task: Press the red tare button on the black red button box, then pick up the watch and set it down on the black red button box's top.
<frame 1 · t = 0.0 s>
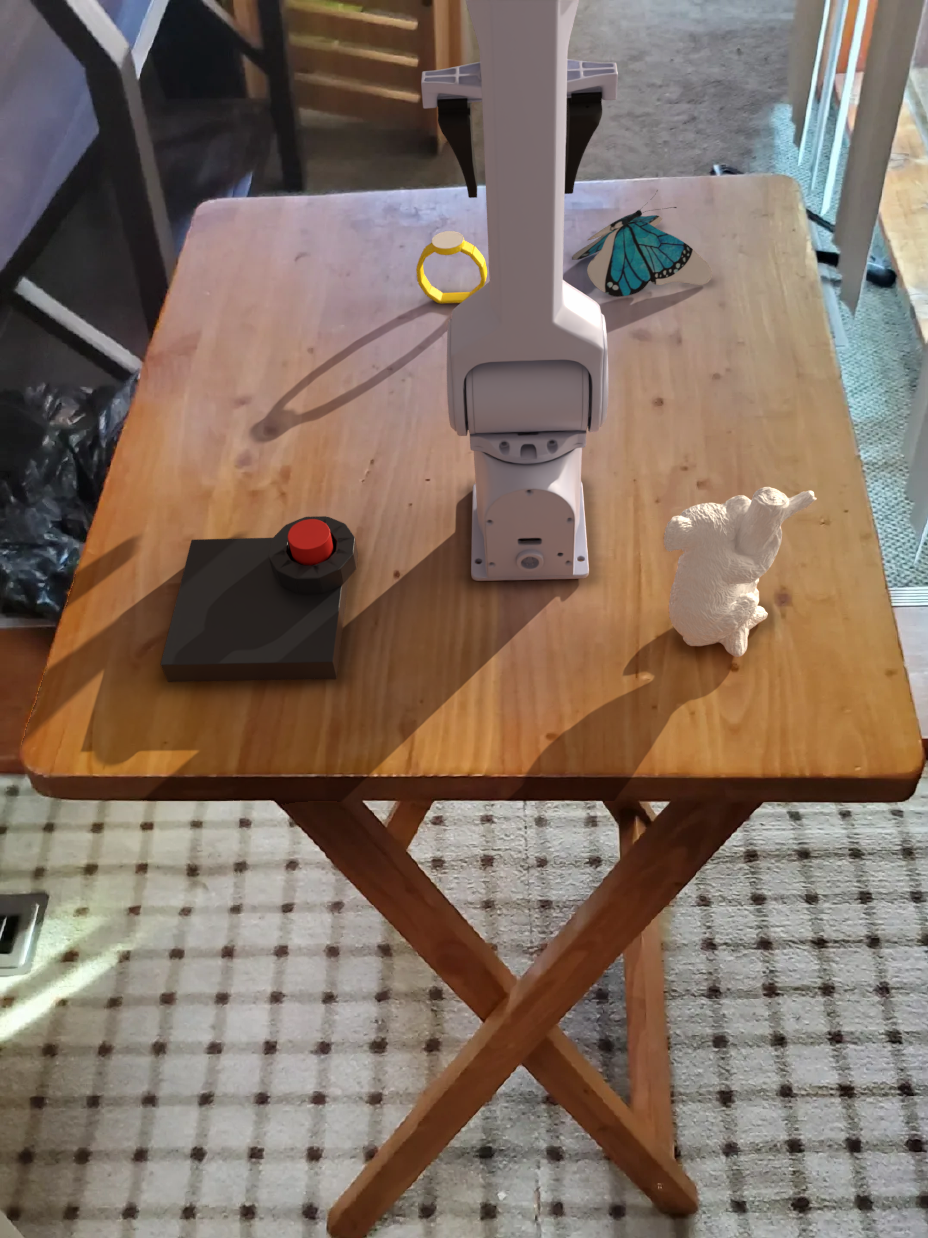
hand: (520, 189, 87), 10 cm above the table, tool pointing down, fingers open, 7 cm apart
tare button: (310, 542, 71), point 4 cm above the table, slide at 0.1 cm
black red button box: (263, 615, 73), on the table
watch: (454, 302, 95), on the table
decorative butterfly: (632, 270, 97), on the table
koala figurine: (716, 631, 70), on the table
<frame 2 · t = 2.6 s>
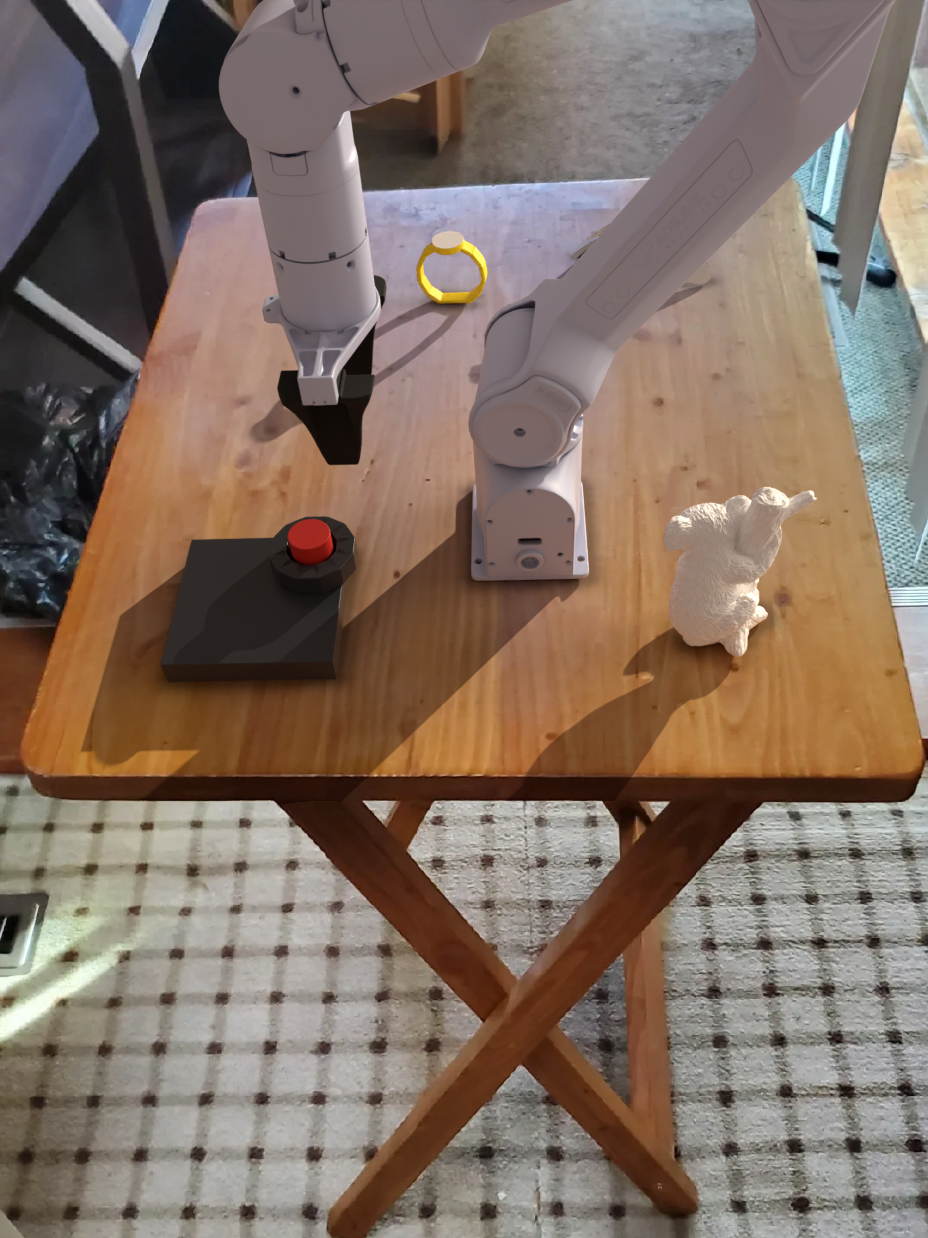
hand: (349, 422, 72), 9 cm above the table, tool pointing down, fingers open, 7 cm apart
nothing on the table moved.
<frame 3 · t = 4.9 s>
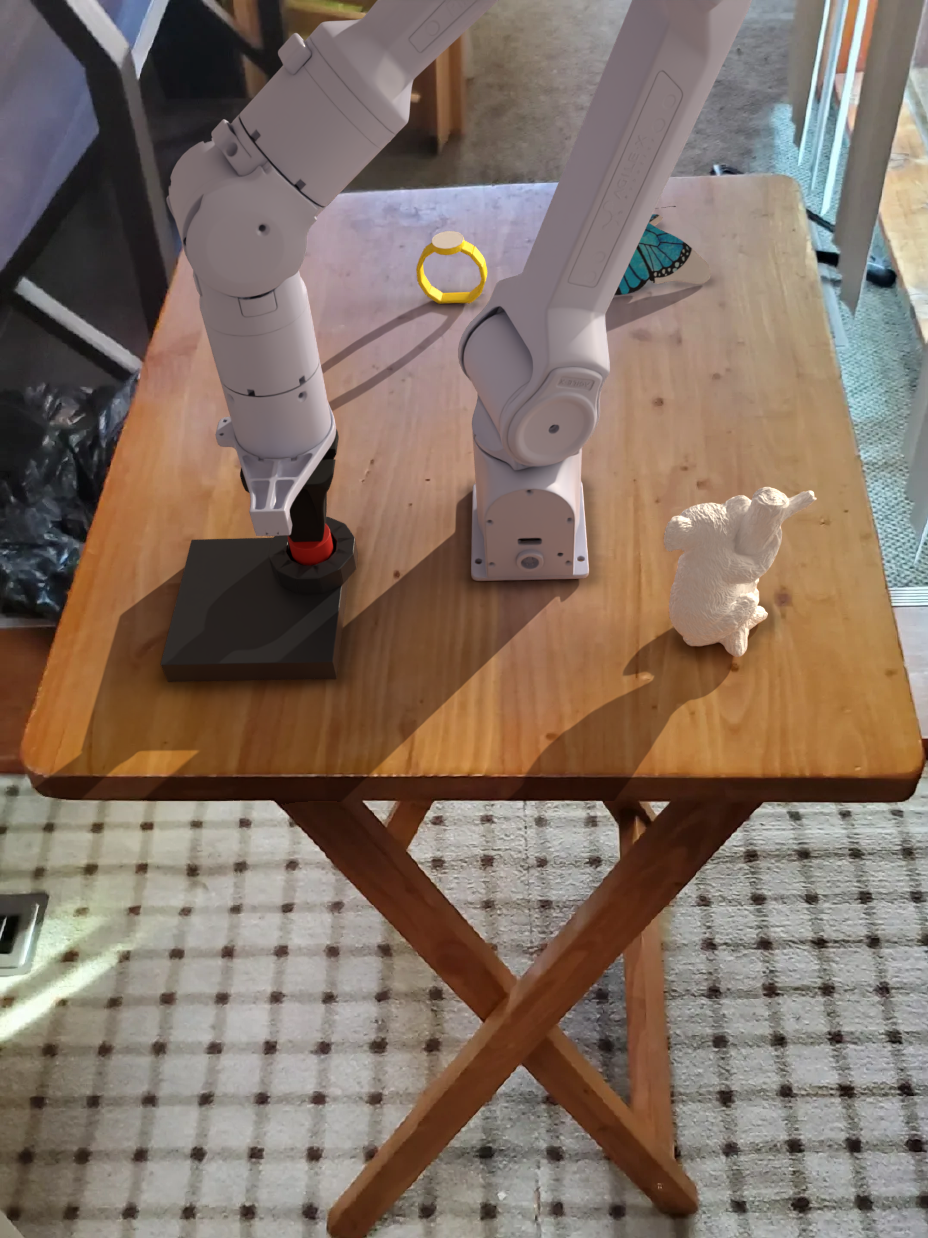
hand: (308, 534, 71), 5 cm above the table, tool pointing down, fingers closed, pressing on tare button
tare button: (310, 542, 71), point 4 cm above the table, slide at 0.1 cm, touching gripper
everything else where it was.
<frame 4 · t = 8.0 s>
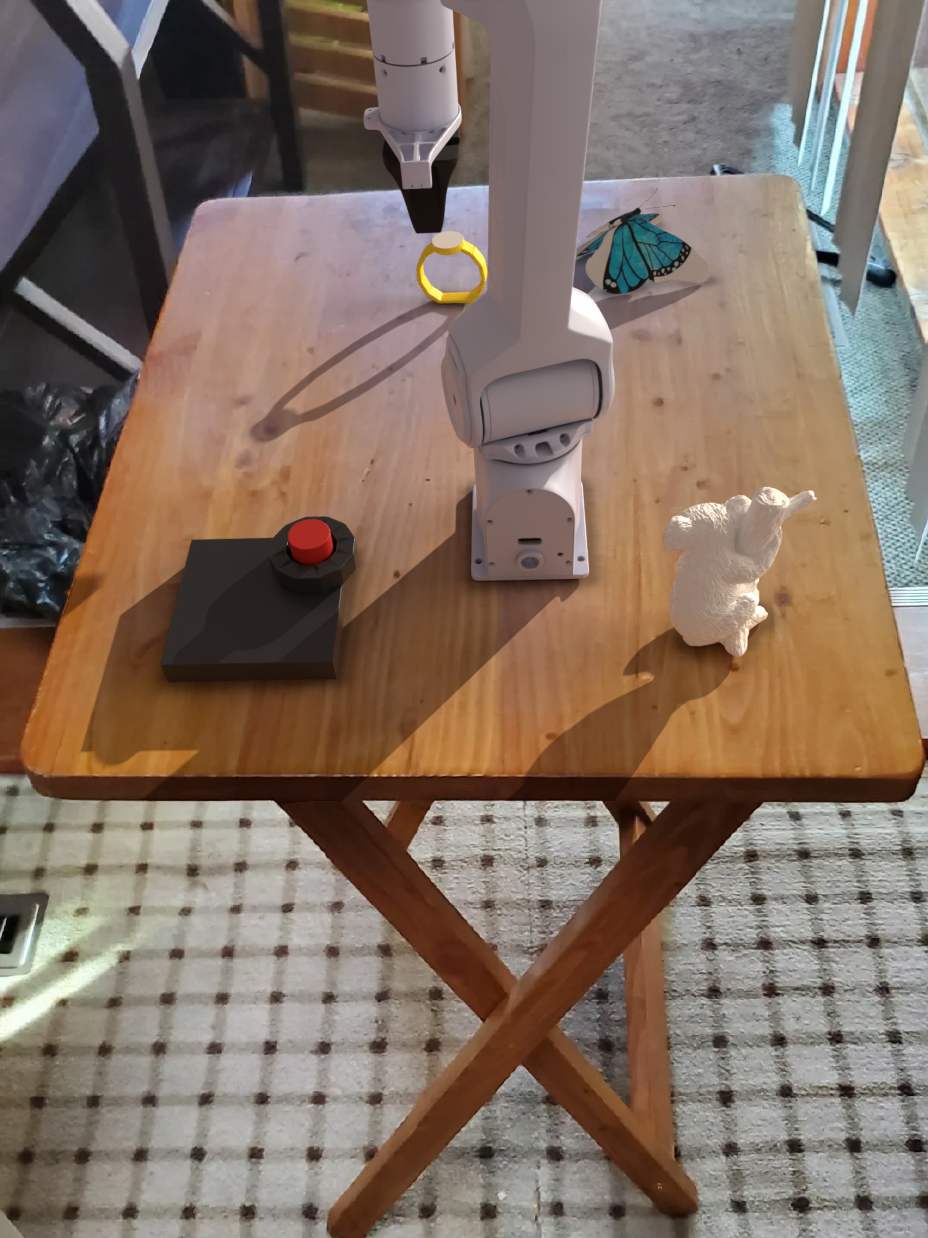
hand: (428, 228, 85), 10 cm above the table, tool pointing down, fingers closed
tare button: (310, 542, 71), point 4 cm above the table, slide at 0.1 cm
everything else where it was.
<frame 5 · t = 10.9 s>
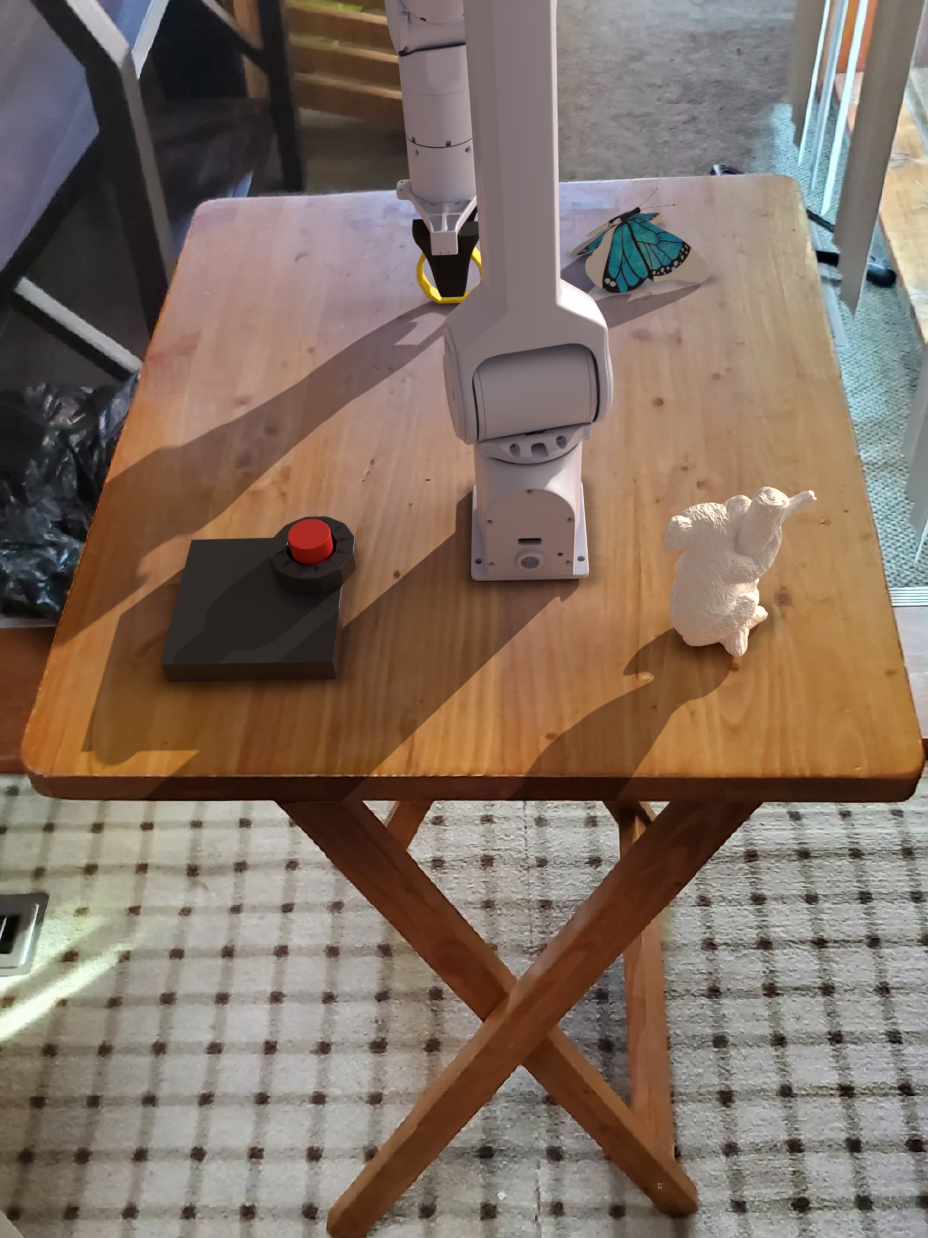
hand: (452, 284, 94), 2 cm above the table, tool pointing down, fingers closed on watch, 2 cm apart
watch: (454, 302, 95), on the table, touching gripper
everything else where it was.
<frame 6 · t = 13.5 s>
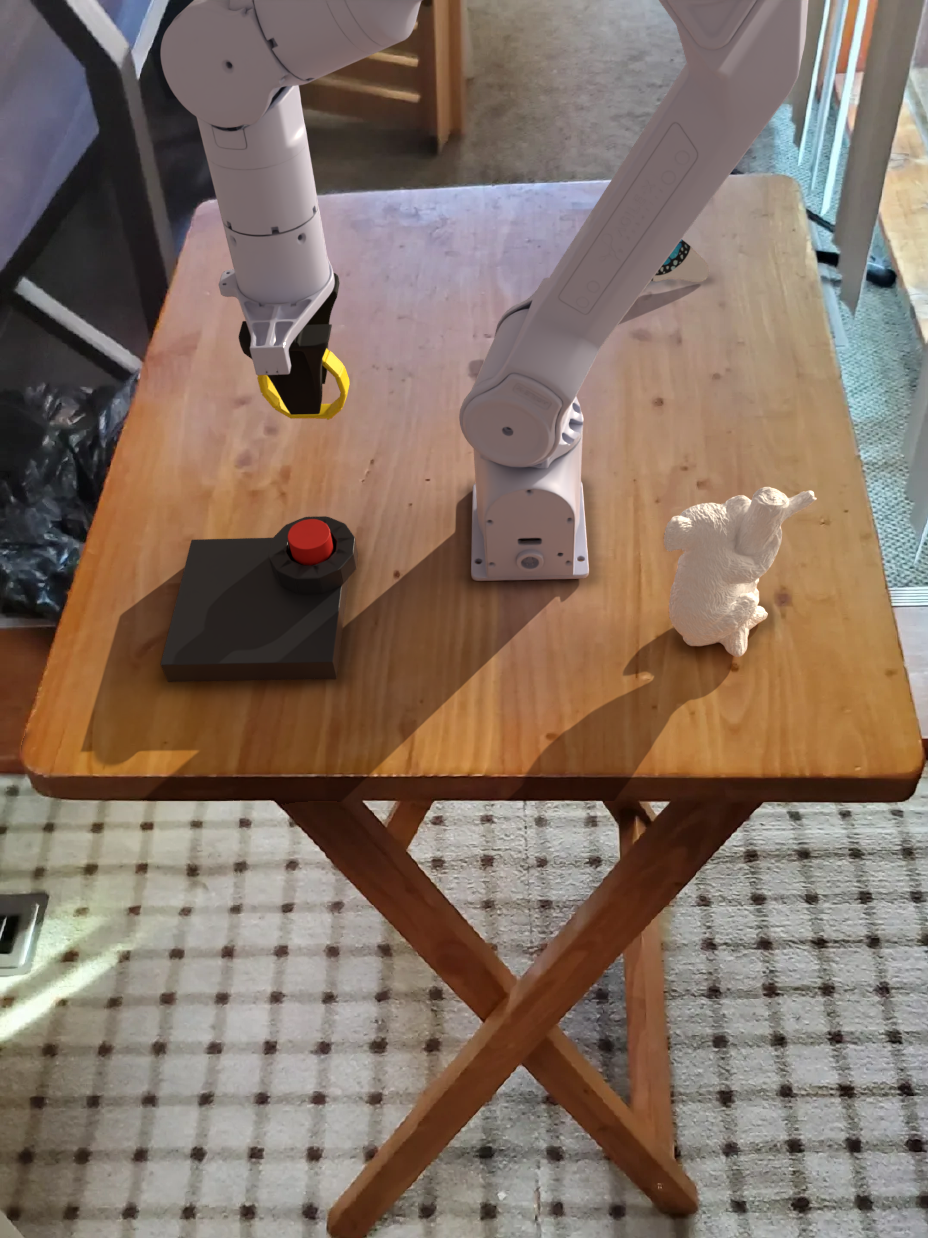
hand: (308, 395, 73), 9 cm above the table, tool pointing down, fingers closed on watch, 2 cm apart
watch: (311, 416, 75), point 7 cm above the table, touching gripper
everything else where it was.
when the fingers open (3 cm above the table, at t = 16.3 s): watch stays where it is, resting on black red button box.
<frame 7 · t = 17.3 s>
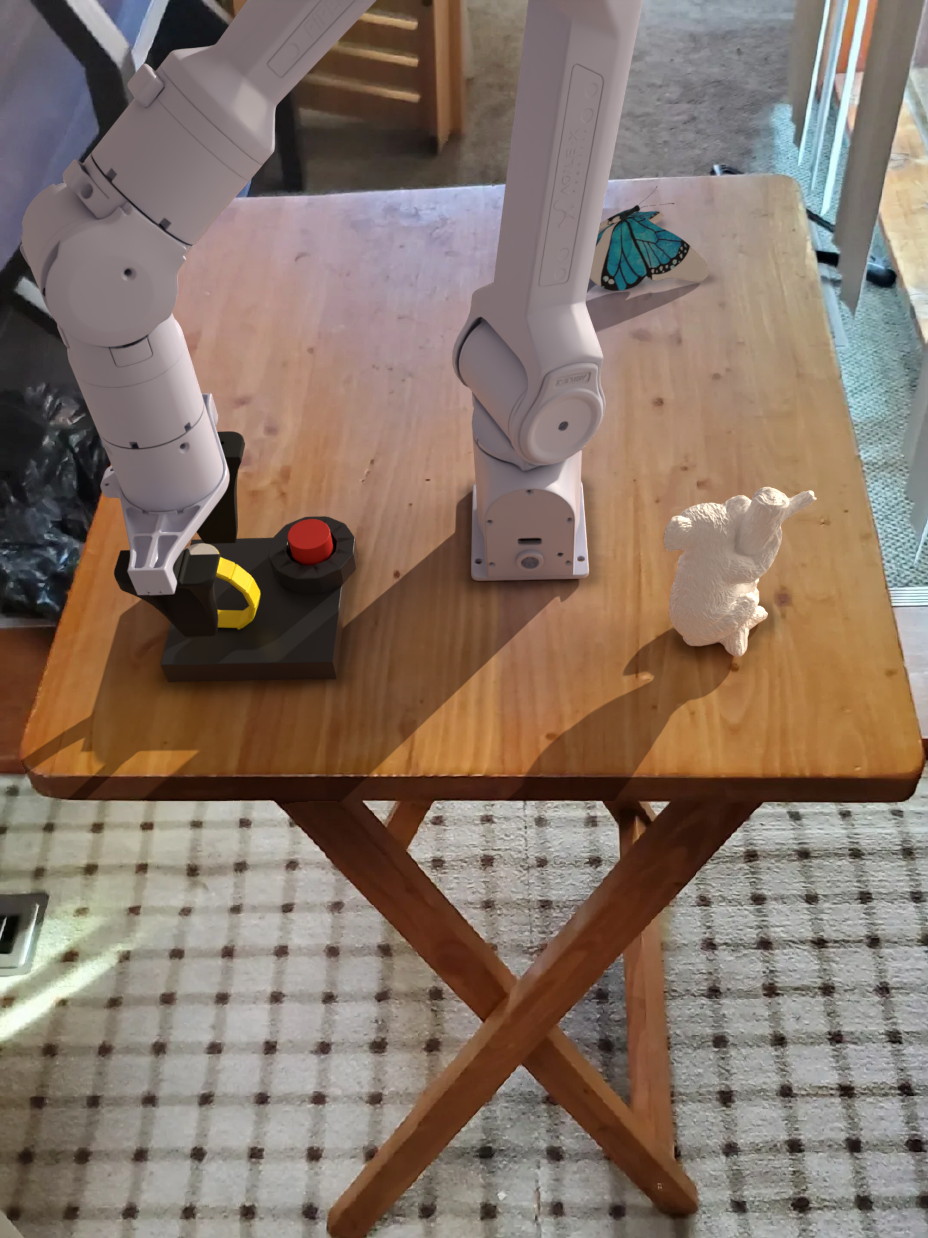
hand: (211, 584, 67), 5 cm above the table, tool pointing down, fingers open, 7 cm apart
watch: (222, 623, 70), point 2 cm above the table, touching black red button box
everything else where it was.
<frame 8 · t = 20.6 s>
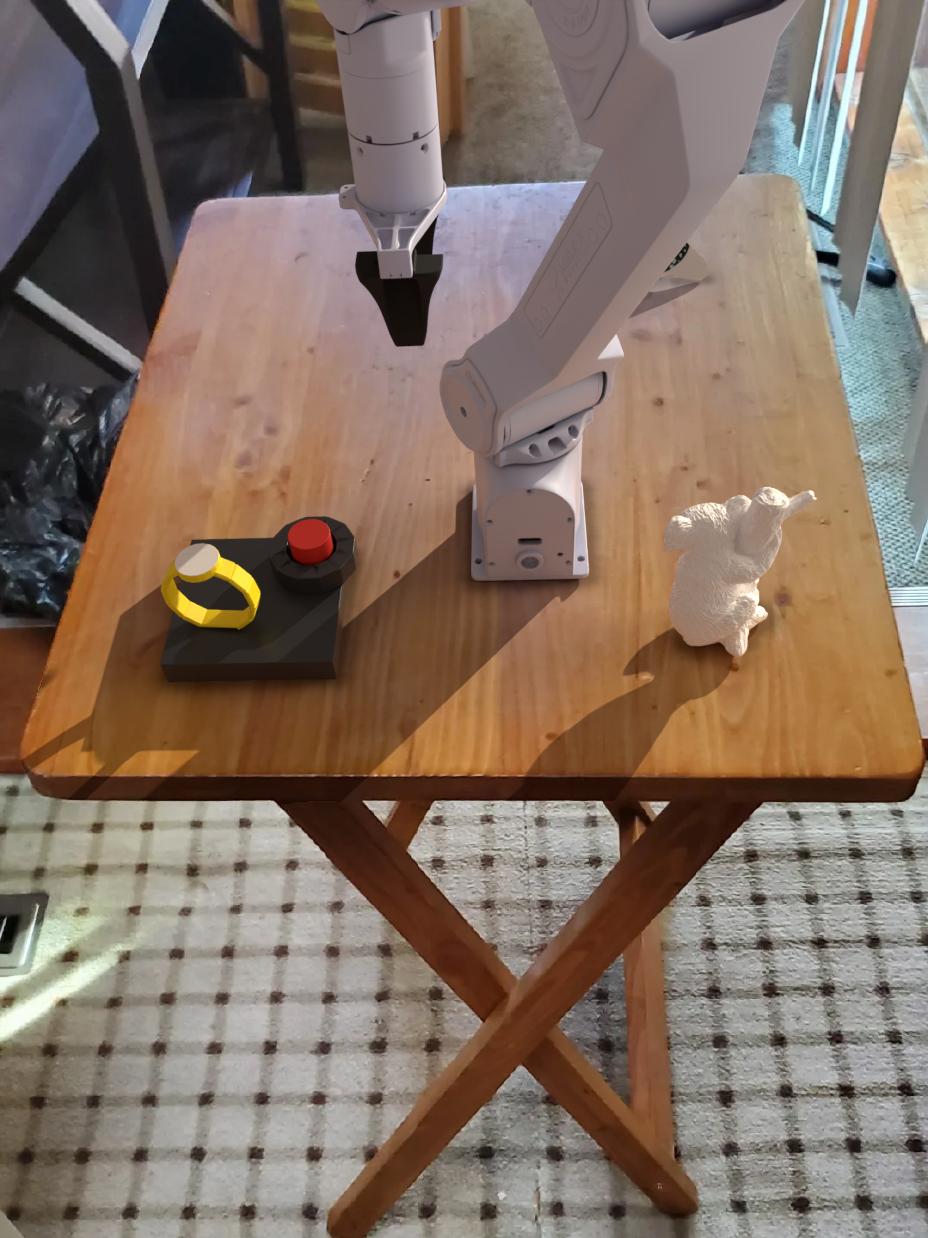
hand: (412, 311, 77), 10 cm above the table, tool pointing down, fingers open, 7 cm apart
nothing on the table moved.
at the end: tare button pushed in 1.0 cm at the most during the clip, back to where it started at the end; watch inside the target area on the black red button box (2.9 cm from its centre), point 1.7 cm above the black red button box's base; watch touching black red button box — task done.
